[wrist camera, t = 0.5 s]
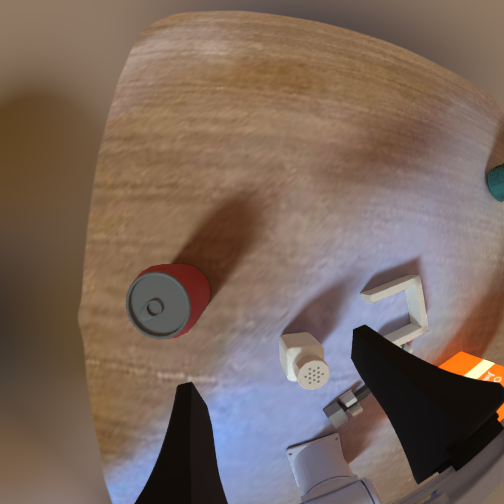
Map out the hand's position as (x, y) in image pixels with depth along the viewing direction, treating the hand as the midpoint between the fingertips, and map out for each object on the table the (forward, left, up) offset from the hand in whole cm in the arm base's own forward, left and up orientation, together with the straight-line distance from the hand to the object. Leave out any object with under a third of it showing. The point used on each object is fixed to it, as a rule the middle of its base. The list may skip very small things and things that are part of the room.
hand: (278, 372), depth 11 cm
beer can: (+3, +7, -23) cm, 24 cm away
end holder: (-7, -18, -22) cm, 29 cm away
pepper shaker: (-7, -4, -23) cm, 24 cm away
